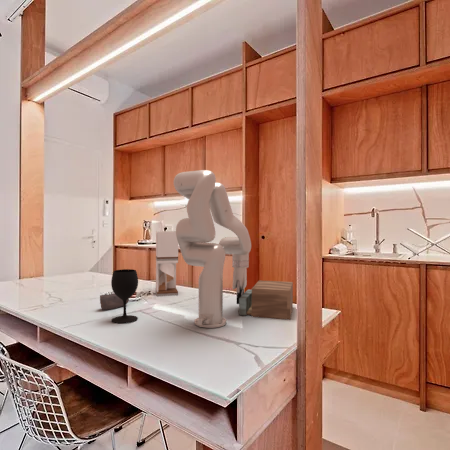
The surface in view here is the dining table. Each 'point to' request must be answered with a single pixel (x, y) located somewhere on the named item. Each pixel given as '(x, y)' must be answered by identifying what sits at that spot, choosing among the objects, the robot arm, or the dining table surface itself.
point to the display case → (166, 263)
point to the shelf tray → (245, 303)
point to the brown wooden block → (272, 299)
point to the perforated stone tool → (111, 301)
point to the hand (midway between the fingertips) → (240, 303)
